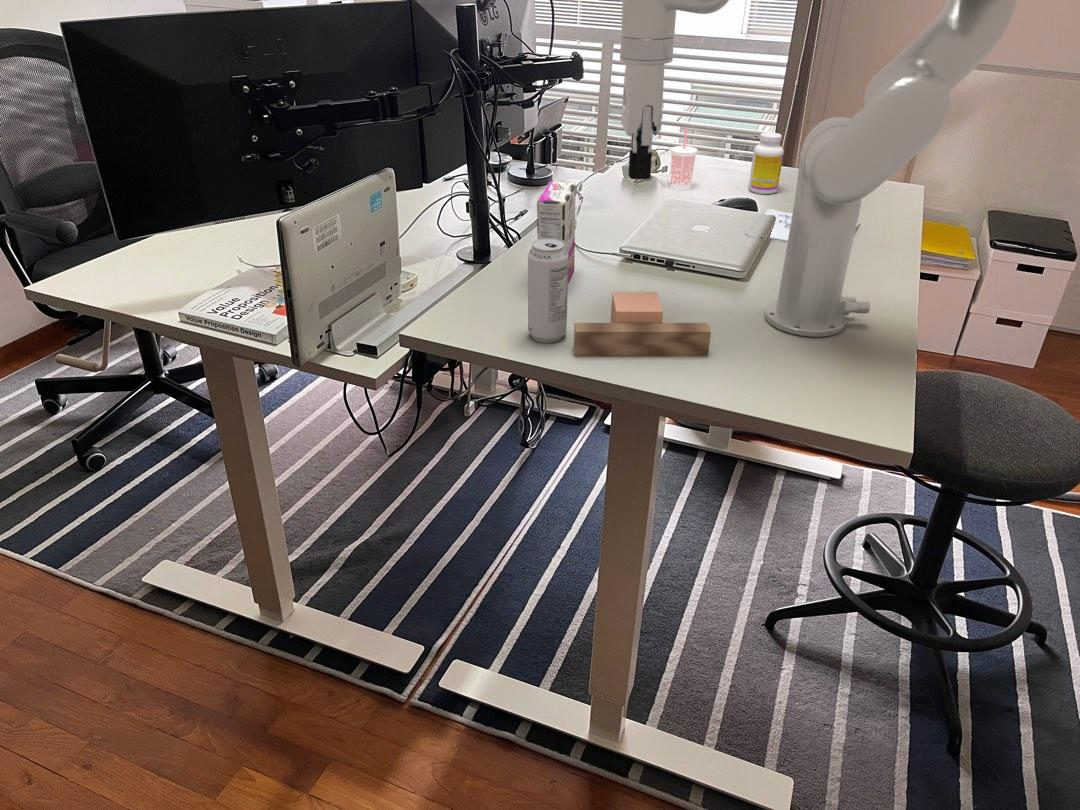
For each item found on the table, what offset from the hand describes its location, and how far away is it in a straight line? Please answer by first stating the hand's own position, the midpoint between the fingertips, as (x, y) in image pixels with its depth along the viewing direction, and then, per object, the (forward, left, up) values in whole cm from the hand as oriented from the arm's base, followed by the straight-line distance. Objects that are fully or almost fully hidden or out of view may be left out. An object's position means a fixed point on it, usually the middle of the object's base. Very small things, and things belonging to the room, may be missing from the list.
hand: (639, 177), depth 128 cm
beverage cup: (-19, -65, -22) cm, 71 cm away
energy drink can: (+14, +11, -22) cm, 28 cm away
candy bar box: (+12, -10, -22) cm, 27 cm away
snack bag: (-40, -37, -22) cm, 59 cm away
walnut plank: (0, +16, -22) cm, 27 cm away
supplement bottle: (-38, -63, -22) cm, 77 cm away
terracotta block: (+1, +11, -22) cm, 25 cm away
